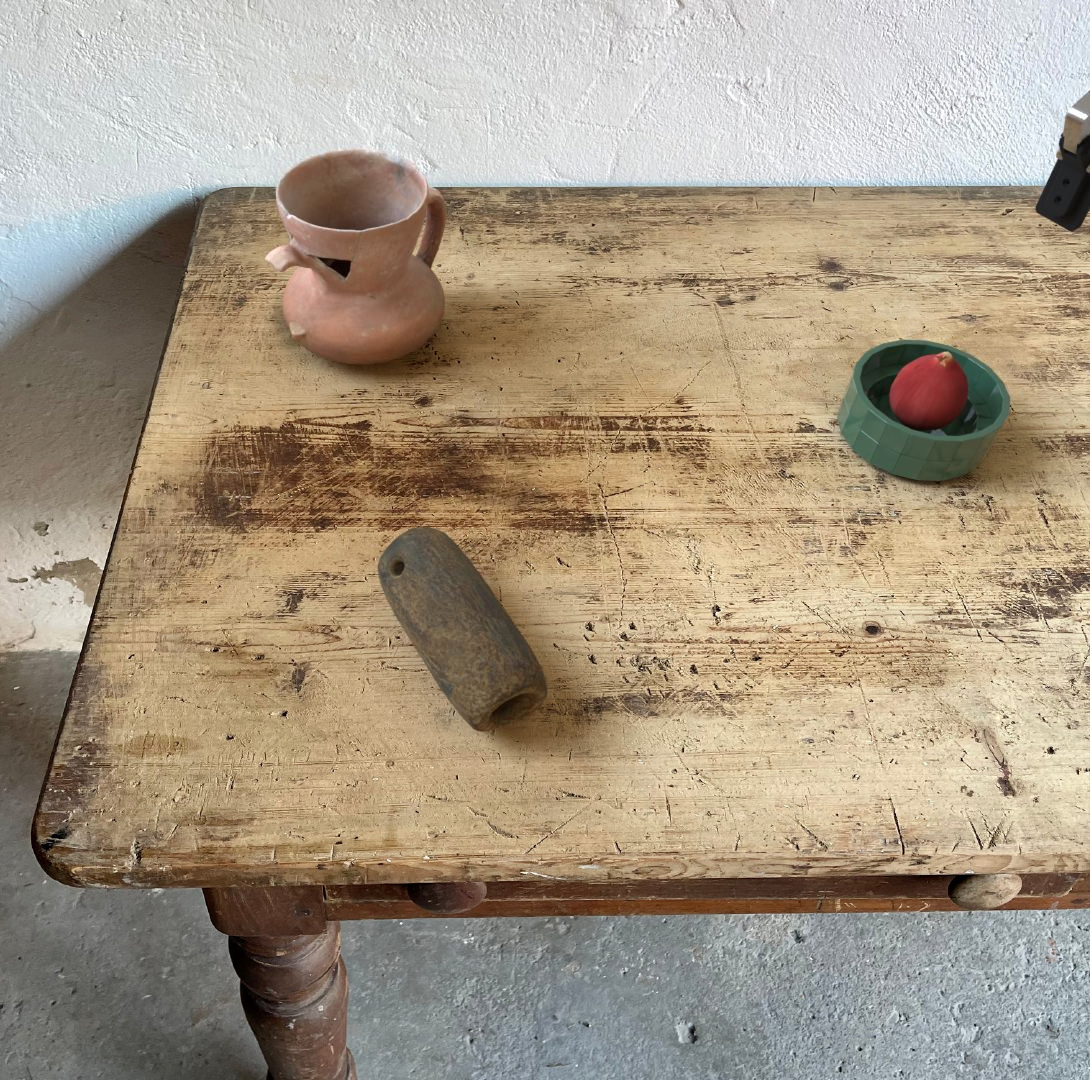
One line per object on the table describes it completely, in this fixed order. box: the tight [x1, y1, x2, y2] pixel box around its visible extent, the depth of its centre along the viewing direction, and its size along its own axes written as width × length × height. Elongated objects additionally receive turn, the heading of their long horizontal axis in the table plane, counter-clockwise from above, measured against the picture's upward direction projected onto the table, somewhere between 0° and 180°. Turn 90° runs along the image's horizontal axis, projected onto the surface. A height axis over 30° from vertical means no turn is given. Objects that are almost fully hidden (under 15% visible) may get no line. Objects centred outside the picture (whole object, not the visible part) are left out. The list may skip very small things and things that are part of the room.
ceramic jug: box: [264, 148, 447, 365], centre depth 86 cm, size 18×14×14 cm
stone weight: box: [377, 526, 548, 733], centre depth 68 cm, size 15×7×7 cm, turn 34°
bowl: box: [836, 339, 1011, 482], centre depth 82 cm, size 12×12×5 cm
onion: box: [889, 352, 968, 431], centre depth 80 cm, size 6×6×8 cm
